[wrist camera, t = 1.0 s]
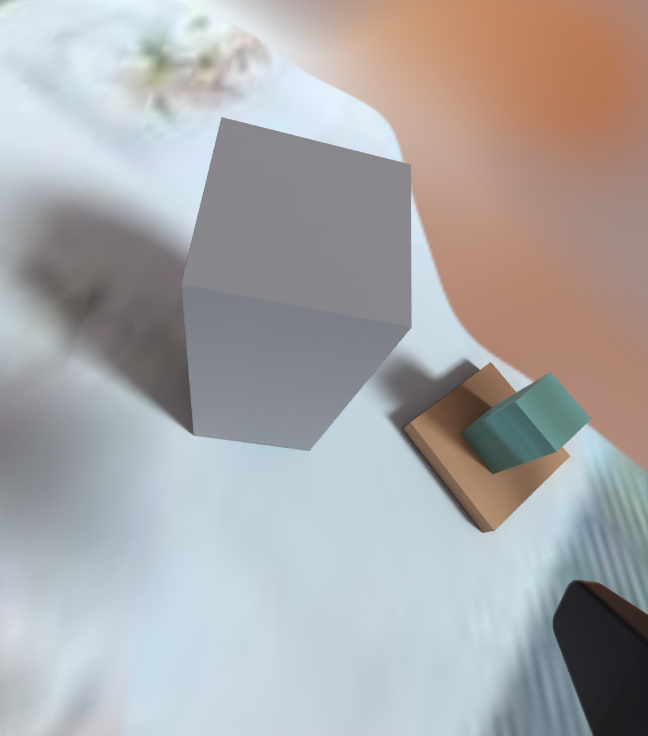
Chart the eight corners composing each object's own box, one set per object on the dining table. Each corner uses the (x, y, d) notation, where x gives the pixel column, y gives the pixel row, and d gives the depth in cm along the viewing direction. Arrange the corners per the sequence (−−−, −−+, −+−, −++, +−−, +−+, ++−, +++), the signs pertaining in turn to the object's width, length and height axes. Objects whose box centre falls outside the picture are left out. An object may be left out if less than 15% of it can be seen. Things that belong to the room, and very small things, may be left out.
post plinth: (482, 532, 22) (562, 520, 17) (402, 428, 23) (455, 388, 18) (556, 460, 24) (645, 431, 19) (480, 369, 26) (546, 320, 21)
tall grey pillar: (309, 450, 22) (411, 327, 11) (193, 435, 21) (181, 284, 10) (318, 349, 24) (410, 164, 13) (214, 332, 23) (221, 117, 12)
